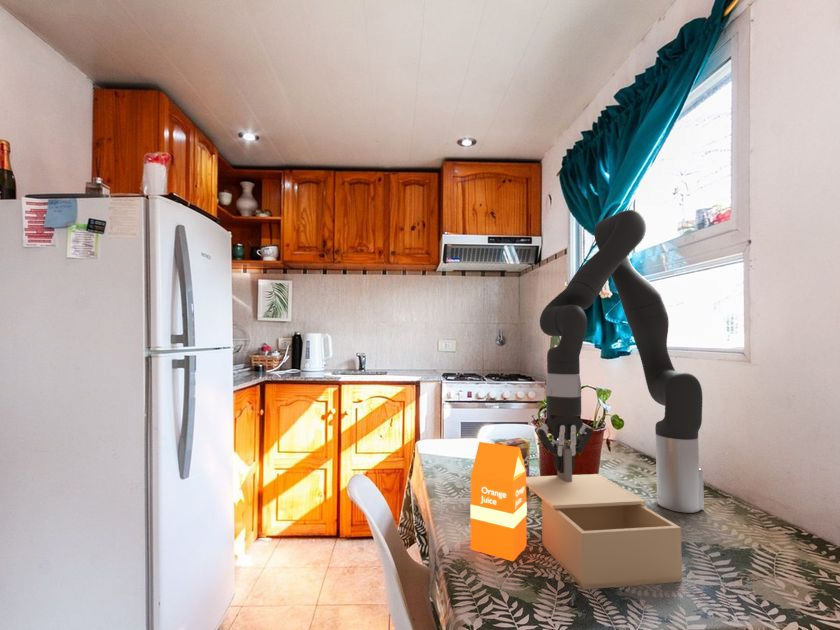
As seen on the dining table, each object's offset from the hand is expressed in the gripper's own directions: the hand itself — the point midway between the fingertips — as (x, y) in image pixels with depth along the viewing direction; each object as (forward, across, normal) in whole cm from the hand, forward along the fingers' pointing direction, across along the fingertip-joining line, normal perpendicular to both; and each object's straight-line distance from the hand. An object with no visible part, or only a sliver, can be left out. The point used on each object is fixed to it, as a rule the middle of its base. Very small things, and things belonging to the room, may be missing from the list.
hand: (564, 471), depth 98 cm
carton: (+12, 0, +16) cm, 20 cm away
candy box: (+12, +7, -15) cm, 20 cm away
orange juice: (+12, +18, +8) cm, 23 cm away
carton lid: (+2, 0, +6) cm, 6 cm away
